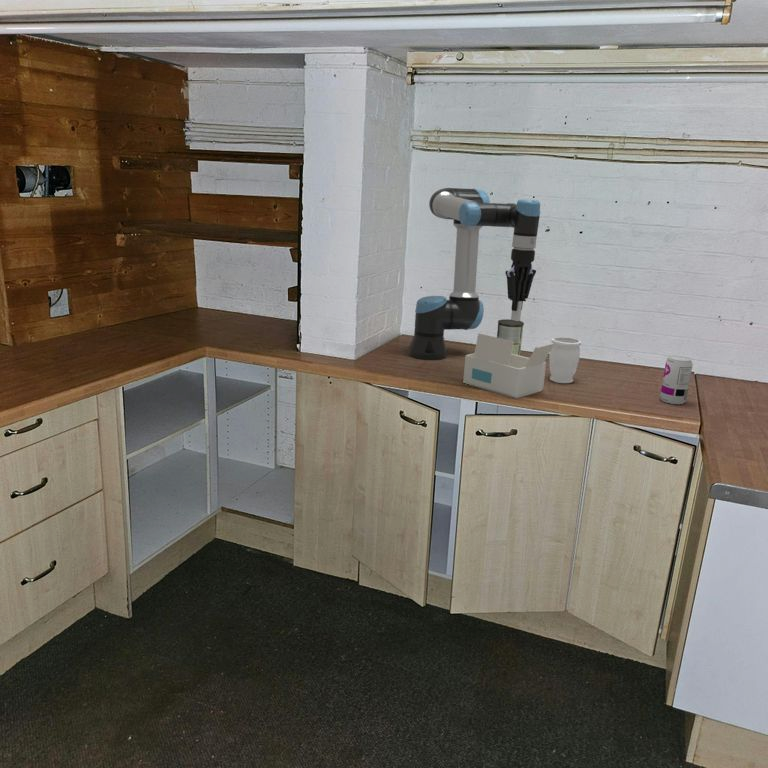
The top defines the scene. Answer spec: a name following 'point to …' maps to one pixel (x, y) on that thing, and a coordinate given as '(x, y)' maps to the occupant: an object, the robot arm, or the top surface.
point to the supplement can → (676, 380)
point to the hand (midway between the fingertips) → (515, 320)
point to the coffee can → (511, 333)
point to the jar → (564, 359)
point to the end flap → (539, 355)
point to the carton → (504, 376)
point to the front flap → (493, 349)
